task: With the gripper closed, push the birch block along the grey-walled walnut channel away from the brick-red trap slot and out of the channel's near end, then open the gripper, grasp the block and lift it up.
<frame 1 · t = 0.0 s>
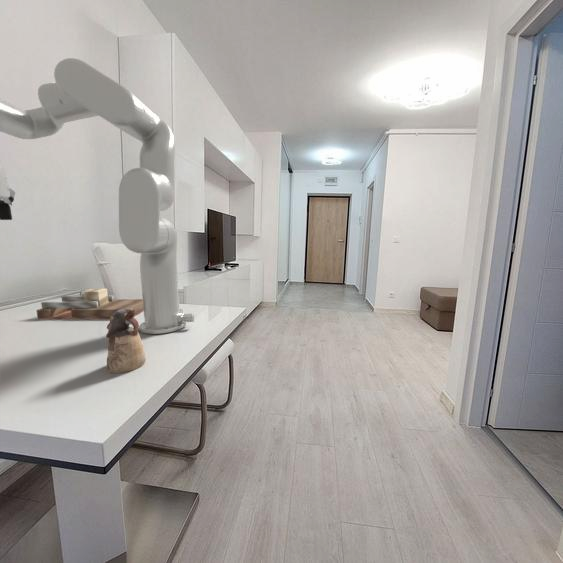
trap deck: (92, 312, 99), on the table
figurine: (127, 365, 60), on the table
block: (97, 304, 98), point 3 cm above the table, touching trap deck
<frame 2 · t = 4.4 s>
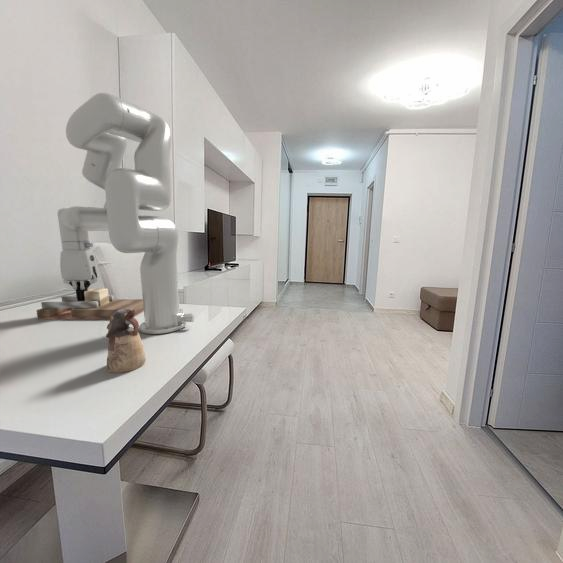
hand: (83, 300, 98), 5 cm above the table, tool pointing down, fingers closed
block: (97, 304, 98), point 3 cm above the table, touching gripper
everything else where it was.
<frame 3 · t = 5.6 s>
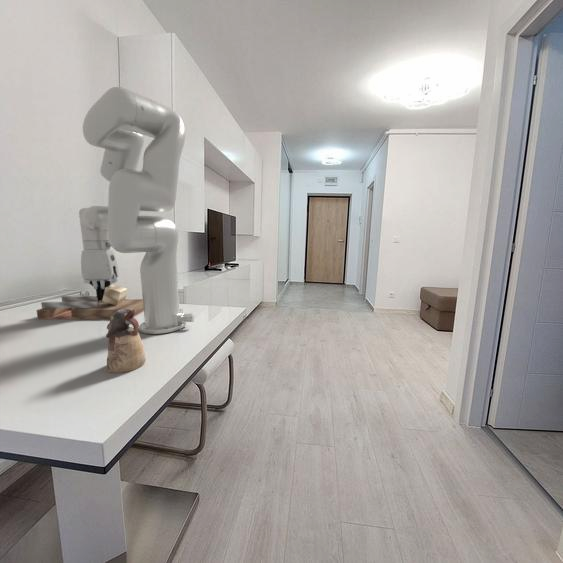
hand: (102, 299, 98), 5 cm above the table, tool pointing down, fingers closed
block: (113, 301, 98), point 4 cm above the table, tilted 19°, touching gripper
everything else where it was.
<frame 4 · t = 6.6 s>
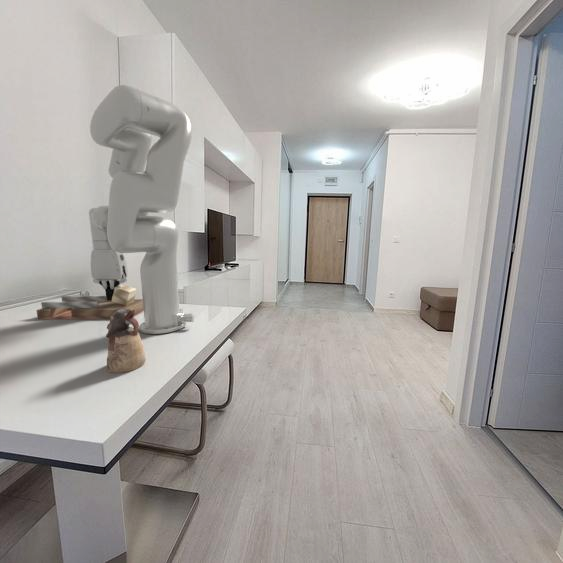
hand: (112, 299, 98), 5 cm above the table, tool pointing down, fingers closed
block: (122, 301, 98), point 4 cm above the table, tilted 19°, touching gripper, trap deck
everything else where it was.
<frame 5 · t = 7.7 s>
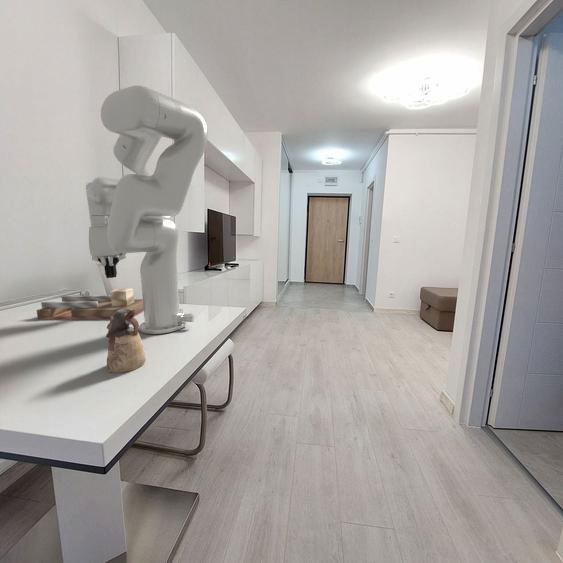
hand: (111, 277, 96), 12 cm above the table, tool pointing down, fingers closed
block: (123, 304, 98), point 3 cm above the table, touching trap deck
everything else where it was.
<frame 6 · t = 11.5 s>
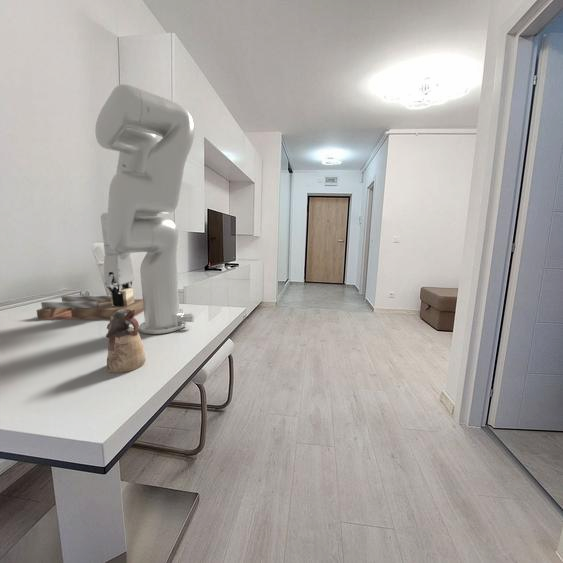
hand: (123, 302, 98), 3 cm above the table, tool pointing down, fingers closed on block, 5 cm apart
block: (123, 304, 98), point 3 cm above the table, touching gripper, trap deck
everything else where it was.
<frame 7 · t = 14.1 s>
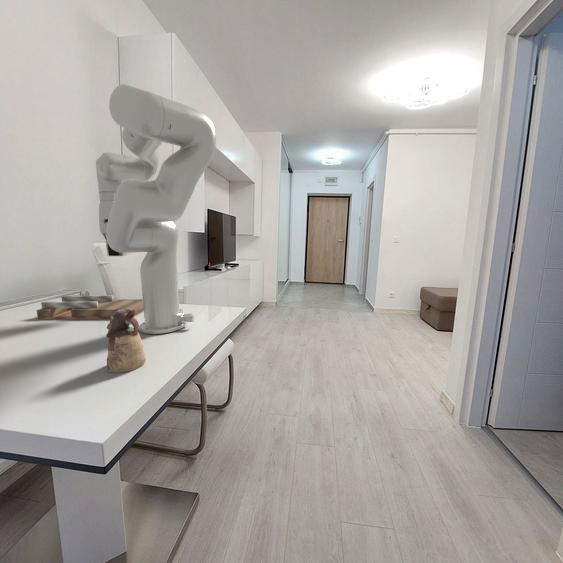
hand: (118, 254, 96), 20 cm above the table, tool pointing down, fingers closed on block, 5 cm apart
block: (119, 255, 96), point 20 cm above the table, touching gripper
everything else where it was.
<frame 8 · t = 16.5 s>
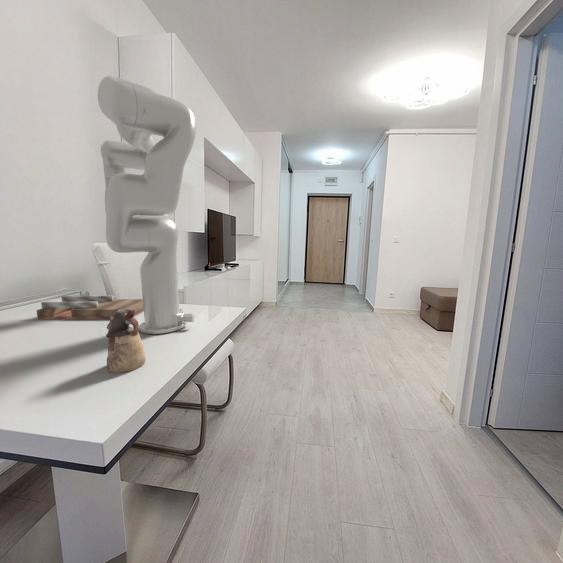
hand: (123, 238, 102), 25 cm above the table, tool pointing down, fingers closed on block, 5 cm apart
block: (123, 239, 102), point 25 cm above the table, touching gripper
everything else where it was.
at the end: the gripper is holding block; block point 24.9 cm above the table; block inside the target area (4.0 cm from its centre), point 24.9 cm above the table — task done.
